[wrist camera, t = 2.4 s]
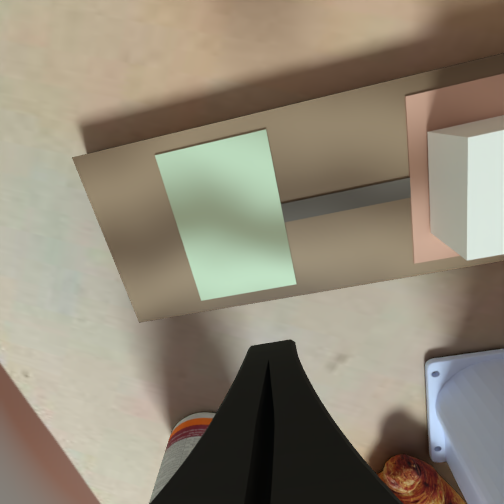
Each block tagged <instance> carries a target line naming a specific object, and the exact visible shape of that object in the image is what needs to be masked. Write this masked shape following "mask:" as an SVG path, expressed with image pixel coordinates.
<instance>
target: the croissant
mask: <svg viewBox="0 0 504 504" xmlns="http://www.w3.org/2000/svg"><path fill="white" fill-rule="evenodd" d="M377 475H378V476H379V477H380V479H381V480H382V481H383V482H384V483H385V484H386V485H387V486H388V488H389V489H390V490H391V491H392V492H393V493H394V494H395V495H396V496H397V497H398V499H399V500H400V501H401V502H402V503H403V504H466V503H465V502H464V500H463V499H462V498H461V497H460V495H459V494H457V493H456V491H455V490H454V489H453V488H452V487H451V486H450V485H449V484H448V483H447V482H446V481H445V480H444V479H443V478H442V477H441V476H440V475H439V474H438V473H437V471H436V470H435V469H434V468H433V466H431V465H430V464H428V463H426V462H424V461H422V460H420V459H417V458H414V457H411V456H408V455H406V454H402V455H395V457H391V458H390V459H389V460H388V461H387V462H386V463H385V467H384V470H383V471H381V472H380V473H378V474H377Z"/></svg>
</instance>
